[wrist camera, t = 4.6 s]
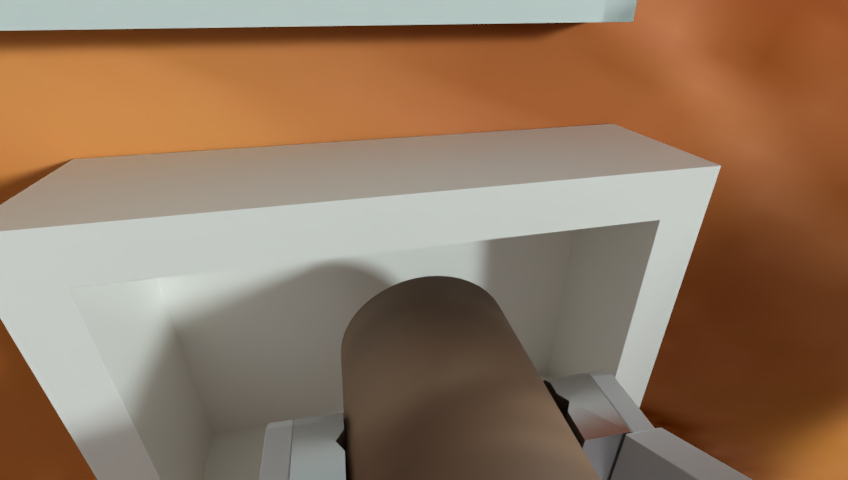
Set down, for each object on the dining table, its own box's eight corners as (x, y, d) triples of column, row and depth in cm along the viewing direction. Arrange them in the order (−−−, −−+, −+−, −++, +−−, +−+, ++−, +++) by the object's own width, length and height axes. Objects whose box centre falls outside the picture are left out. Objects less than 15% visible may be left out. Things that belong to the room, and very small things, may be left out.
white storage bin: (613, 123, 13) (721, 165, 10) (562, 374, 18) (621, 462, 14) (72, 159, 10) (-49, 235, 7) (189, 444, 15) (153, 572, 12)
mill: (513, 266, 11) (722, 556, 5) (497, 392, 13) (633, 694, 7) (332, 286, 10) (344, 653, 4) (347, 416, 12) (368, 777, 6)
